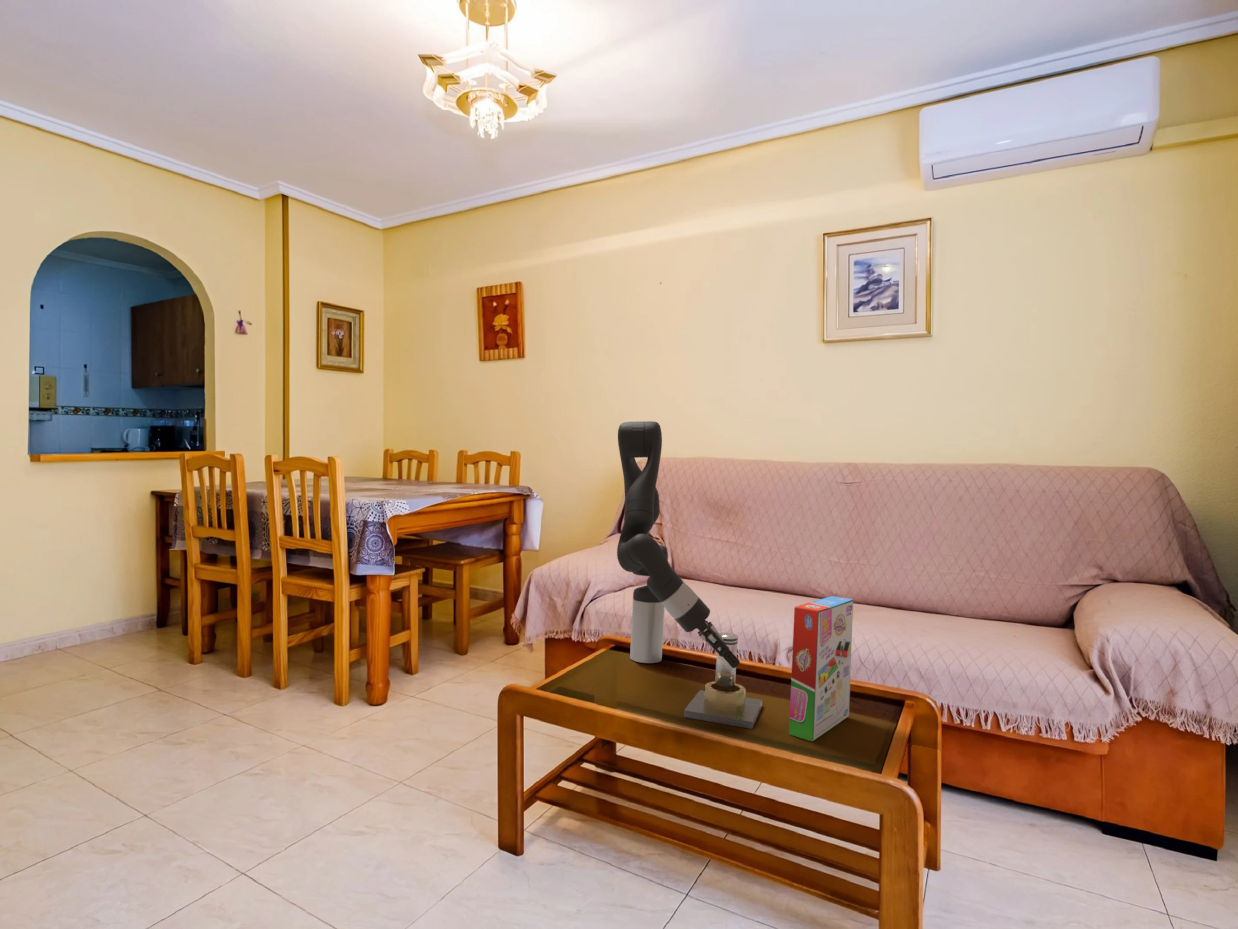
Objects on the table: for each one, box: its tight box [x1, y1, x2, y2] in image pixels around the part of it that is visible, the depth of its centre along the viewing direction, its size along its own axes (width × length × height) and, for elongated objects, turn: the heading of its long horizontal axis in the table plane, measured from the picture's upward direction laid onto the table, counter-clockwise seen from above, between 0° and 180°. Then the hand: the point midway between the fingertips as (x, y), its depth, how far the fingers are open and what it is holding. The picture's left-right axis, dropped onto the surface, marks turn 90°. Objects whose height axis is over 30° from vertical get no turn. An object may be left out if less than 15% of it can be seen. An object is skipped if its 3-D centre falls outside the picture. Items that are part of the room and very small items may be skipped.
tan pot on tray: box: [683, 680, 763, 730], centre depth 153 cm, size 16×15×6 cm
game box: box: [788, 595, 854, 742], centre depth 147 cm, size 21×6×27 cm, turn 141°
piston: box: [715, 632, 739, 686], centre depth 153 cm, size 5×5×11 cm
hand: (734, 662), depth 153 cm, fingers closed on piston, 4 cm apart
